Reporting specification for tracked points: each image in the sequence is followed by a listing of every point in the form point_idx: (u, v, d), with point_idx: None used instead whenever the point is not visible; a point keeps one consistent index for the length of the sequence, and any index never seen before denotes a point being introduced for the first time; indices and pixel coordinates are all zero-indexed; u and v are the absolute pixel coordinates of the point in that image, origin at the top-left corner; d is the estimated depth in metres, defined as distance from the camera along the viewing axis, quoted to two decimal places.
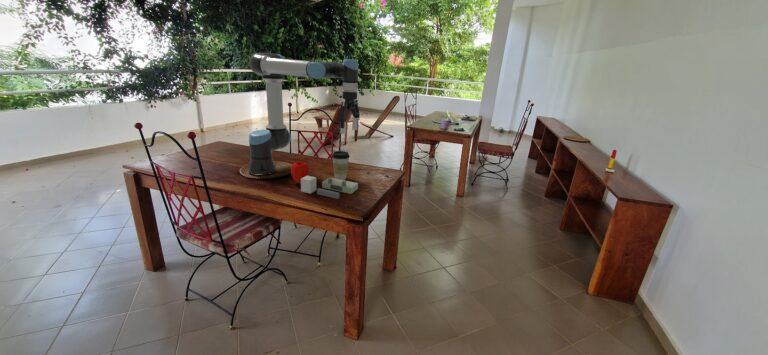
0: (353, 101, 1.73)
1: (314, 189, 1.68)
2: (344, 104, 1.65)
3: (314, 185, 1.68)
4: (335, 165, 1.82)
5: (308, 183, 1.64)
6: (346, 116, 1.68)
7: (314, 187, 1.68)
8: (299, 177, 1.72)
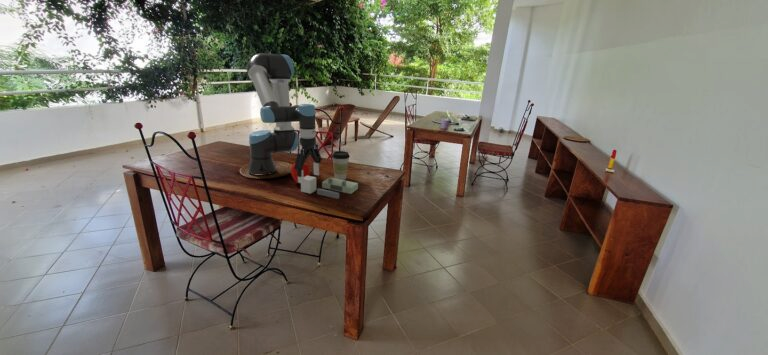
0: (312, 147, 1.62)
1: (314, 189, 1.68)
2: (300, 152, 1.54)
3: (314, 185, 1.68)
4: (335, 165, 1.82)
5: (308, 183, 1.64)
6: (303, 164, 1.57)
7: (314, 187, 1.68)
8: None
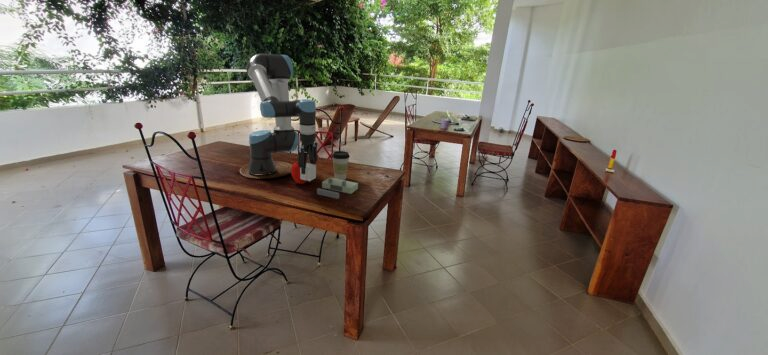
0: (312, 142, 1.62)
1: (314, 177, 1.66)
2: (300, 151, 1.55)
3: (314, 173, 1.66)
4: (335, 165, 1.82)
5: (307, 170, 1.62)
6: (306, 161, 1.60)
7: (314, 175, 1.66)
8: (299, 177, 1.72)
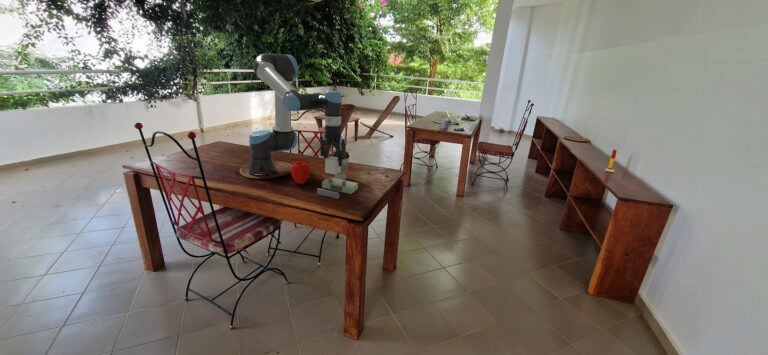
0: (336, 136, 1.55)
1: (331, 171, 1.60)
2: None
3: (332, 168, 1.59)
4: None
5: None
6: (326, 151, 1.60)
7: (331, 169, 1.59)
8: (299, 177, 1.72)
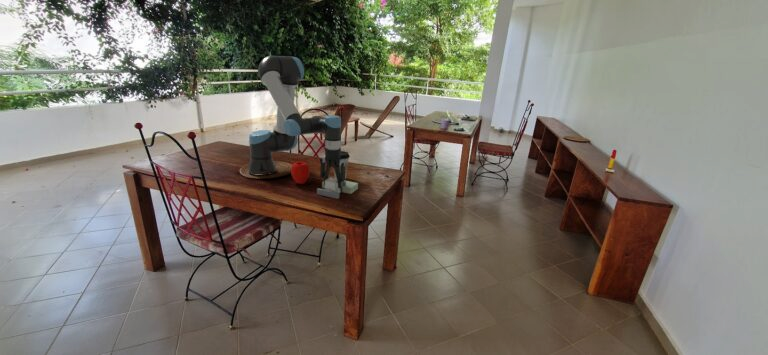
0: (335, 159, 1.59)
1: None
2: None
3: (332, 189, 1.63)
4: None
5: None
6: (326, 173, 1.64)
7: None
8: (299, 177, 1.72)
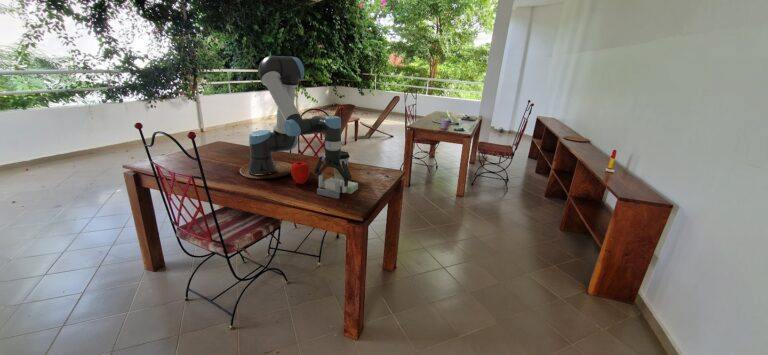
0: (335, 160, 1.59)
1: None
2: None
3: (332, 190, 1.63)
4: None
5: None
6: (321, 170, 1.64)
7: None
8: (299, 177, 1.72)
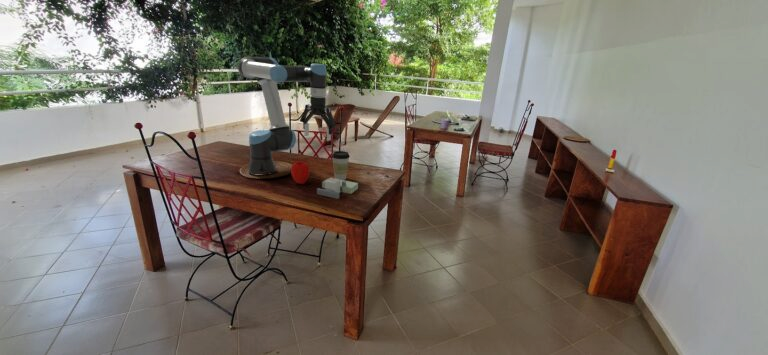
0: (320, 108, 1.64)
1: None
2: None
3: (332, 190, 1.63)
4: (335, 165, 1.82)
5: None
6: (307, 119, 1.69)
7: None
8: (299, 177, 1.72)
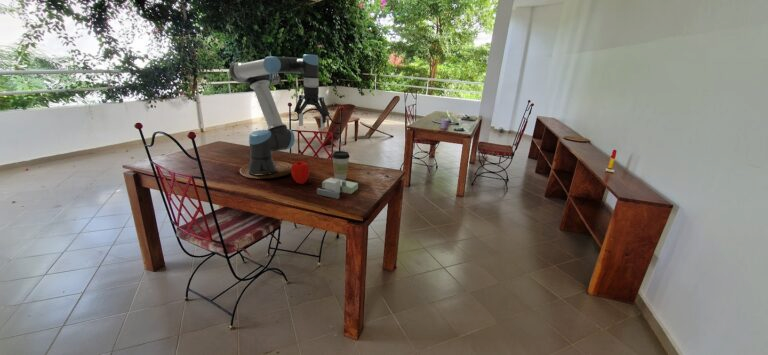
0: (313, 97, 1.69)
1: None
2: None
3: (332, 190, 1.63)
4: (335, 165, 1.82)
5: None
6: (301, 109, 1.74)
7: None
8: (299, 177, 1.72)
